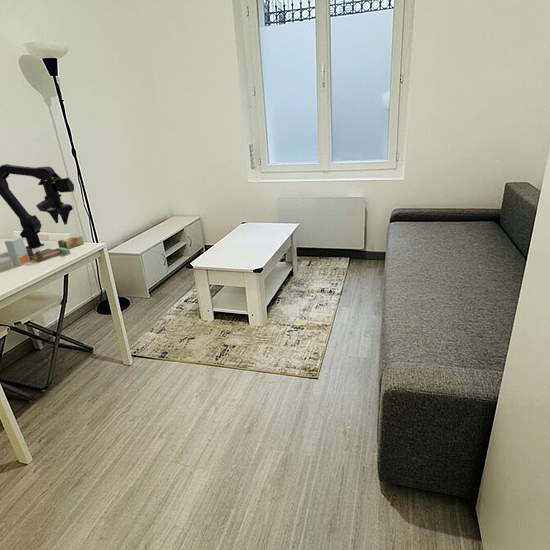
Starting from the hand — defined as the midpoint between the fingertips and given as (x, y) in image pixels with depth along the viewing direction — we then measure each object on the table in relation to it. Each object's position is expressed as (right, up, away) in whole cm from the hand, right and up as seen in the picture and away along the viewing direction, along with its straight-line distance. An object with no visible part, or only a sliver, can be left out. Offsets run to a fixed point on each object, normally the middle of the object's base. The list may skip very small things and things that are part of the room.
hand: (61, 223), depth 197 cm
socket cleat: (+7, -16, -10) cm, 20 cm away
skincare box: (-8, -21, -19) cm, 29 cm away
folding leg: (+6, -12, -1) cm, 13 cm away
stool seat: (-1, -17, -11) cm, 20 cm away
